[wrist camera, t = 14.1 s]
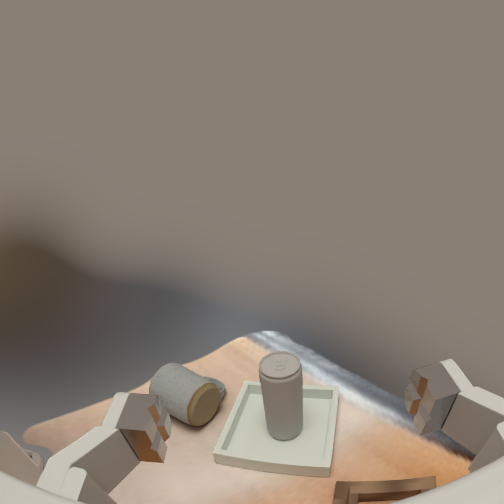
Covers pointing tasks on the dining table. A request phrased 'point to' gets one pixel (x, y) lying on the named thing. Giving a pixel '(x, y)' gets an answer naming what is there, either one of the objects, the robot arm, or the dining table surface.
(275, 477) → the dining table surface
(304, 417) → the tray
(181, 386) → the ceramic mug
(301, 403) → the beverage can
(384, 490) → the walnut collar
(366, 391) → the dining table surface
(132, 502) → the dining table surface
